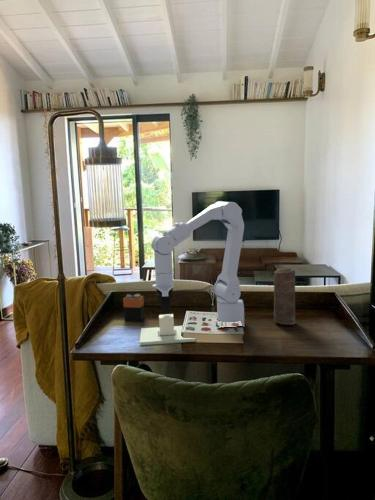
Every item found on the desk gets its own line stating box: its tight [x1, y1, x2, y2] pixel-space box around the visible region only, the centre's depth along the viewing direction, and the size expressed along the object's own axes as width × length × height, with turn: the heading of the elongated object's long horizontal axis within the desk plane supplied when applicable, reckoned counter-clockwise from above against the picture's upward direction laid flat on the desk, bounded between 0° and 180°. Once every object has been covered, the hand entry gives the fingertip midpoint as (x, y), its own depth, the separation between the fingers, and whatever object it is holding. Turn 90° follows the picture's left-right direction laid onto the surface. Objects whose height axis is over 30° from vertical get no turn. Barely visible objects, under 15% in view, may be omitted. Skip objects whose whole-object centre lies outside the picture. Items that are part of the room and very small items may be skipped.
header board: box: [139, 325, 196, 346], centre depth 131 cm, size 18×12×4 cm, turn 94°
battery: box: [122, 293, 146, 323], centre depth 147 cm, size 4×7×10 cm, turn 76°
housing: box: [158, 313, 175, 335], centre depth 131 cm, size 5×3×6 cm
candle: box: [273, 267, 296, 326], centre depth 136 cm, size 8×7×20 cm
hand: (165, 311), depth 130 cm, fingers open, 5 cm apart
